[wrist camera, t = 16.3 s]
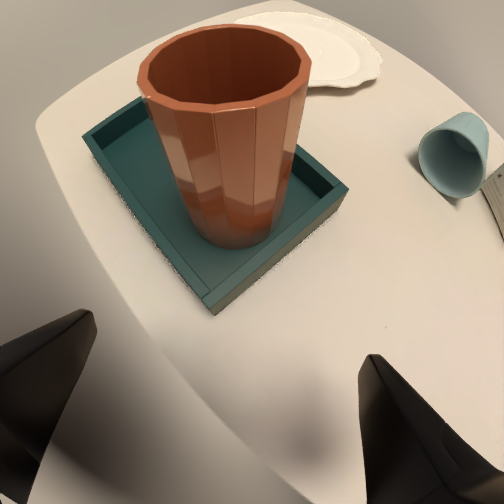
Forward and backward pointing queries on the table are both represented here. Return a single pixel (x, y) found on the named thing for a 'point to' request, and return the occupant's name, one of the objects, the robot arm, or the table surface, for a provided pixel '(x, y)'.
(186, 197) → the tumbler
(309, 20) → the plate
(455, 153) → the cup
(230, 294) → the tray
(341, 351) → the table surface
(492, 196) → the white packaging box
